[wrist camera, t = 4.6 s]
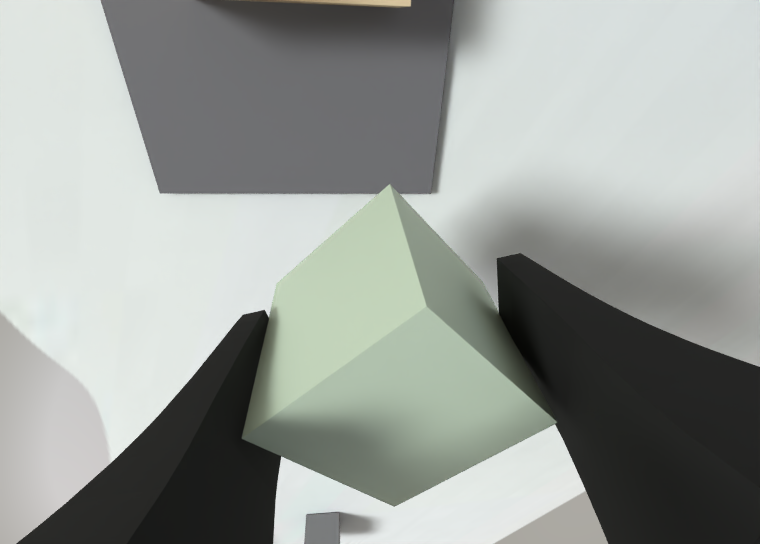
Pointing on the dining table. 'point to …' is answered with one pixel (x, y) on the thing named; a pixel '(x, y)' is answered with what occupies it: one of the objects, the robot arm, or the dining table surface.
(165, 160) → the mat
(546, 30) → the dining table surface
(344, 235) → the sage cube
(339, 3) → the oak slab
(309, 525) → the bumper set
